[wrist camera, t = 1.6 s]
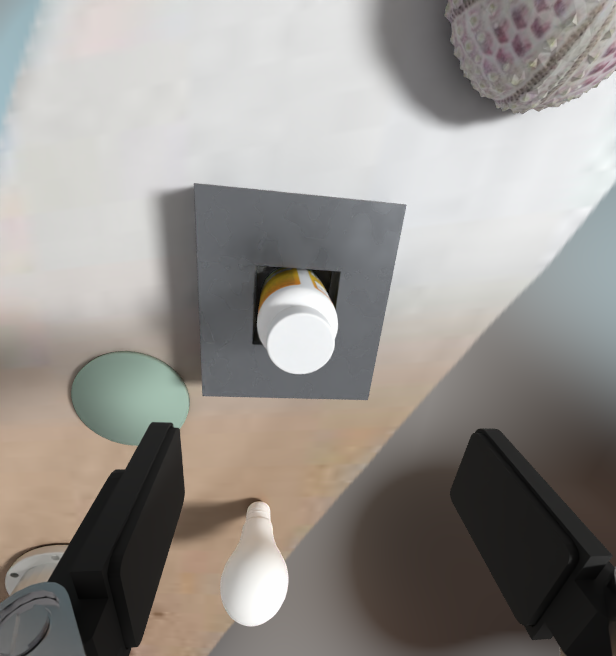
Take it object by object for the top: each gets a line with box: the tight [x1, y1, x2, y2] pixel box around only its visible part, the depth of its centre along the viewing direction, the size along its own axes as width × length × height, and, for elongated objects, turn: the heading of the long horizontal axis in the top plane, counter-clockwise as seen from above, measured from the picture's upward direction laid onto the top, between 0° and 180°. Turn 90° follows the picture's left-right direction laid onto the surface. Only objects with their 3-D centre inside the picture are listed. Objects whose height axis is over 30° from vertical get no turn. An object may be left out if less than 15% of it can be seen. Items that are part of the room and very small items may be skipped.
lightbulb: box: [220, 501, 288, 626], centre depth 32 cm, size 6×6×11 cm
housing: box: [194, 183, 406, 400], centre depth 26 cm, size 16×14×4 cm
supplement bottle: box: [257, 267, 338, 374], centre depth 23 cm, size 5×5×10 cm
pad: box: [71, 351, 190, 446], centre depth 30 cm, size 10×10×1 cm
